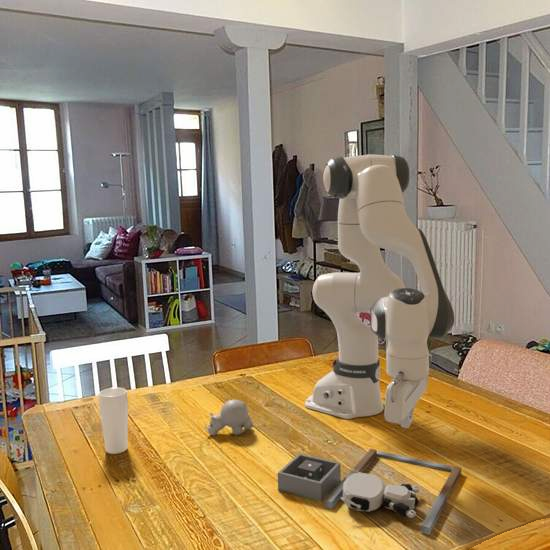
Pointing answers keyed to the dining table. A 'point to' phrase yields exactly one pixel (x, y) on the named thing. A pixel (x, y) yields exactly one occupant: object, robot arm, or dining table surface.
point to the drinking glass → (114, 419)
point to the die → (310, 470)
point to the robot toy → (378, 494)
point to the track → (372, 453)
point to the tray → (309, 487)
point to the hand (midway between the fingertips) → (406, 425)
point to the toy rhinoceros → (230, 418)
